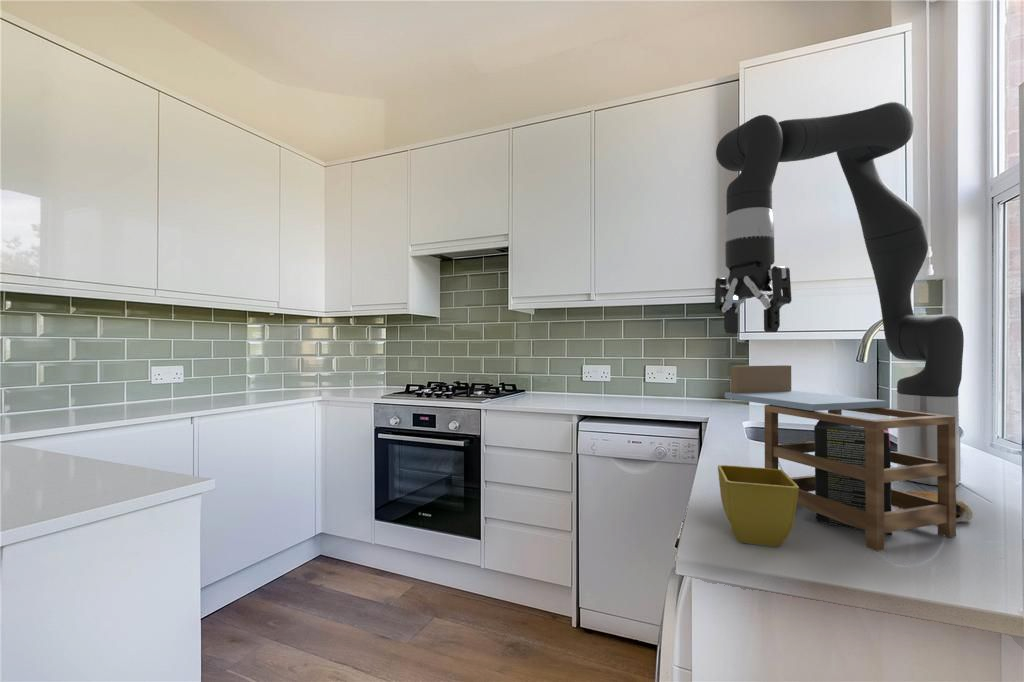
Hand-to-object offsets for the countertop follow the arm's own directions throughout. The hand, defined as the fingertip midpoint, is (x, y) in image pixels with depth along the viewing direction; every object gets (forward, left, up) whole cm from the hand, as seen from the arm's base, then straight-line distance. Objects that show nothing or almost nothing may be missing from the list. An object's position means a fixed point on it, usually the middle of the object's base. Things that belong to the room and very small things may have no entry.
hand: (750, 332), depth 79 cm
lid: (-9, +2, -12) cm, 15 cm away
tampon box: (-9, +11, -29) cm, 32 cm away
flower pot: (+11, +12, -30) cm, 34 cm away
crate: (-9, +11, -29) cm, 32 cm away
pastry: (-24, +13, -30) cm, 40 cm away
